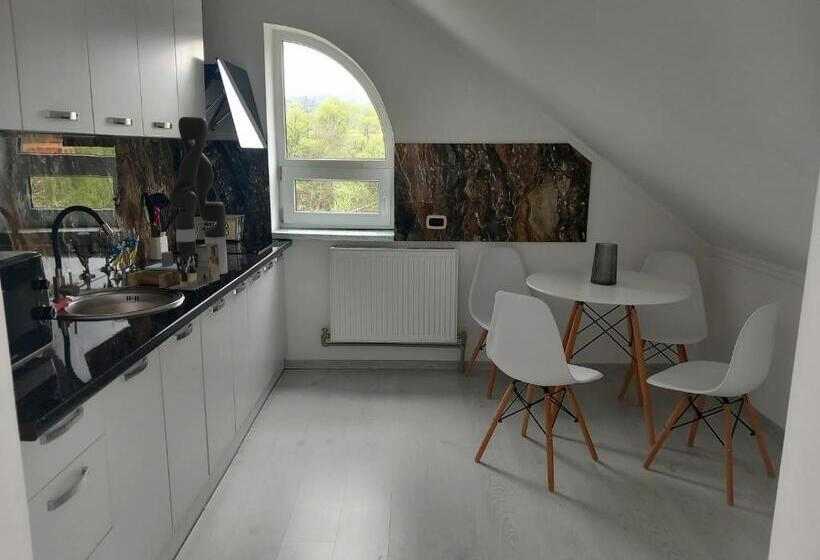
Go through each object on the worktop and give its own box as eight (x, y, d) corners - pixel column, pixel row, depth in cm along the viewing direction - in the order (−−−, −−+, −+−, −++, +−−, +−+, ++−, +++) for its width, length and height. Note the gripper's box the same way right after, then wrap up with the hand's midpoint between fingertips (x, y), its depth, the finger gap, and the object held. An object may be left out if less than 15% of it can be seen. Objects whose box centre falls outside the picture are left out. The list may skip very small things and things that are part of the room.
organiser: (161, 277, 286) (160, 265, 285) (192, 278, 283) (191, 266, 282) (128, 287, 262) (127, 274, 261) (161, 289, 259) (160, 275, 258)
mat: (183, 283, 271) (183, 282, 271) (209, 284, 269) (209, 283, 269) (167, 289, 259) (167, 287, 259) (194, 290, 257) (194, 289, 257)
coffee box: (207, 279, 281) (205, 243, 278) (220, 279, 280) (218, 243, 277) (196, 283, 273) (194, 246, 270) (209, 283, 271) (207, 246, 268)
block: (197, 284, 266) (196, 273, 265) (191, 287, 261) (190, 275, 260) (186, 284, 267) (185, 272, 266) (180, 286, 262) (179, 274, 261)
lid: (159, 265, 284) (158, 249, 282) (190, 266, 281) (189, 250, 280) (144, 269, 273) (143, 253, 272) (176, 270, 270) (175, 254, 269)
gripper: (185, 242, 253) (187, 283, 256) (203, 238, 267) (205, 277, 270) (168, 241, 254) (170, 282, 257) (186, 237, 268) (189, 276, 271)
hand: (188, 279), depth 264 cm, fingers open, 5 cm apart
